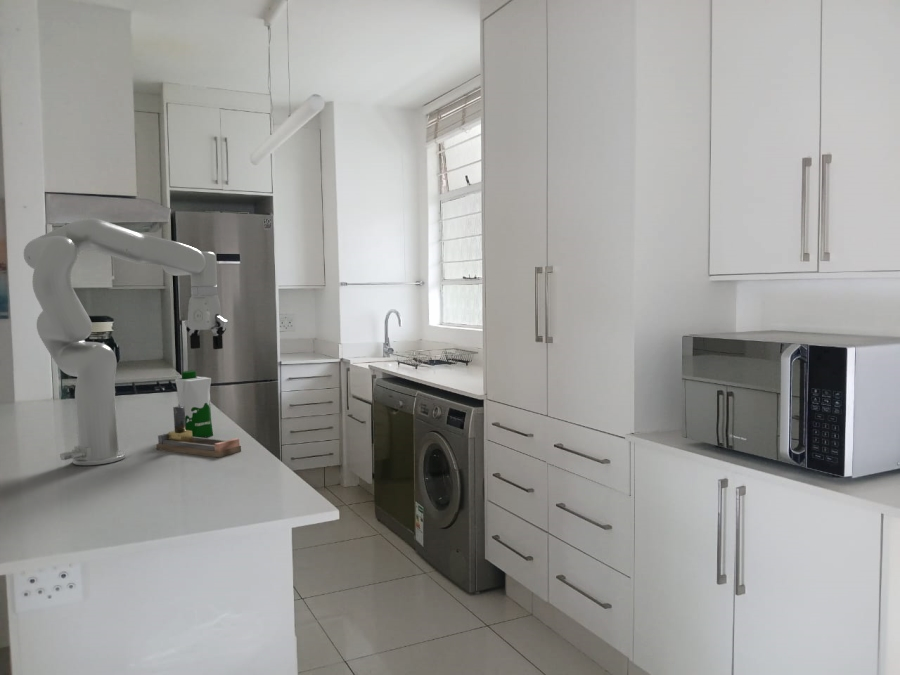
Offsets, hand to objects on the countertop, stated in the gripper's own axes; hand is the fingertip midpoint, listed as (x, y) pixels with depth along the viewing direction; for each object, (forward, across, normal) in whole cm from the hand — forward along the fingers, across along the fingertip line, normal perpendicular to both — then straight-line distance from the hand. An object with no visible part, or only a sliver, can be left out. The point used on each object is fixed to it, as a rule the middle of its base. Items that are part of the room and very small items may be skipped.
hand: (206, 348), depth 212 cm
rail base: (+27, +12, -15) cm, 34 cm away
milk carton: (+27, -4, -2) cm, 28 cm away
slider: (+25, +5, -15) cm, 30 cm away
